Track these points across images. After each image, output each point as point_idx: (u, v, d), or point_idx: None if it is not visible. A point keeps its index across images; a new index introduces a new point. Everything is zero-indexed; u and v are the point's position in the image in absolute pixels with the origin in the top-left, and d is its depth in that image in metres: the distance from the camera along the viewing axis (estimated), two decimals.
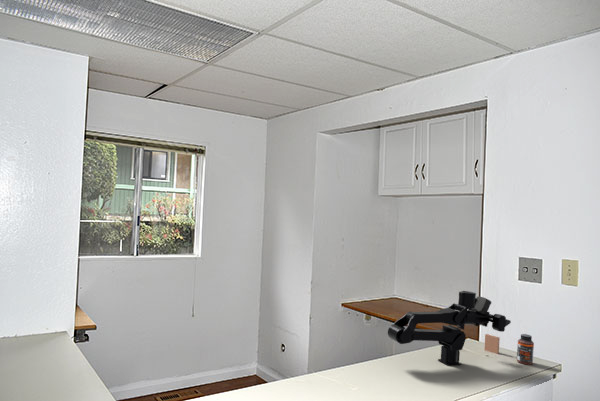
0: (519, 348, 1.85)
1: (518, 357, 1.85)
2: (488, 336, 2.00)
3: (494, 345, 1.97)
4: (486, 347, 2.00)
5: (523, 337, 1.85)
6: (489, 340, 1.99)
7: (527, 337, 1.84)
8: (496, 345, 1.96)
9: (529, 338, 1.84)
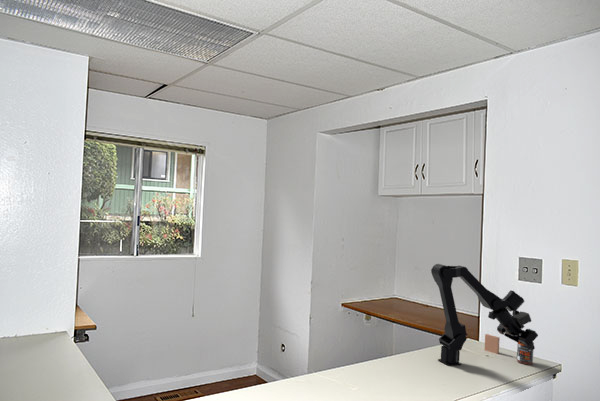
0: (519, 348, 1.85)
1: (518, 357, 1.85)
2: (488, 336, 2.00)
3: (494, 345, 1.97)
4: (486, 347, 2.00)
5: None
6: (489, 340, 1.99)
7: None
8: (496, 345, 1.96)
9: None
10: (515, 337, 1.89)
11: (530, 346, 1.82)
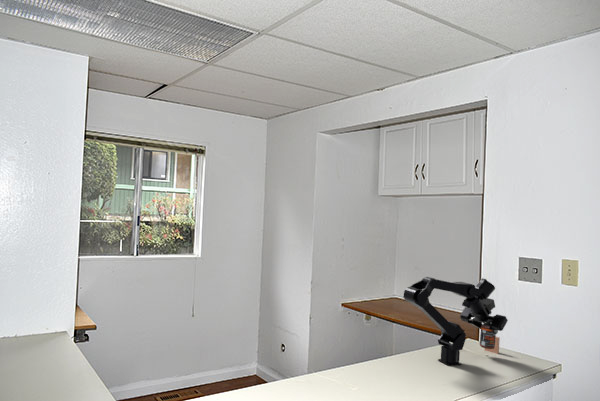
0: (484, 334, 1.89)
1: (483, 342, 1.89)
2: None
3: None
4: None
5: (488, 323, 1.89)
6: None
7: None
8: (496, 345, 1.96)
9: None
10: (478, 323, 1.92)
11: (496, 331, 1.87)
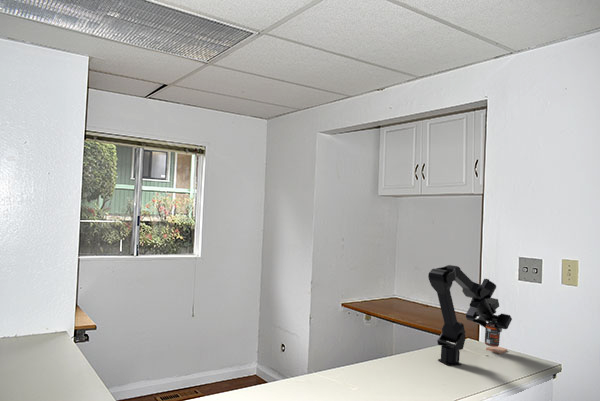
0: (489, 332, 1.97)
1: (488, 341, 1.97)
2: (497, 346, 2.04)
3: (499, 349, 2.00)
4: (489, 347, 2.02)
5: (492, 321, 1.97)
6: (496, 347, 2.03)
7: None
8: (501, 349, 1.99)
9: None
10: (483, 322, 2.00)
11: (500, 329, 1.95)
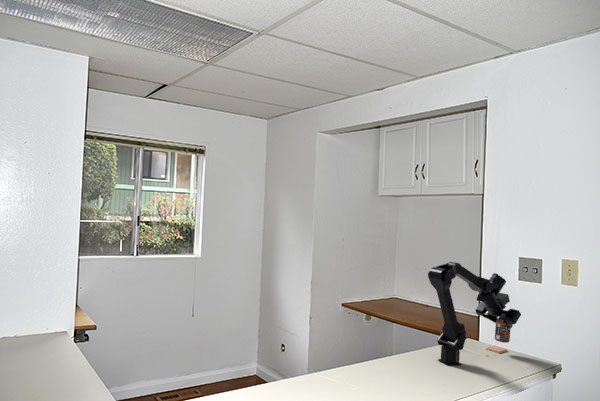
0: (499, 328, 1.95)
1: (498, 336, 1.95)
2: (497, 346, 2.04)
3: (499, 349, 2.00)
4: (489, 347, 2.02)
5: (502, 317, 1.95)
6: (496, 347, 2.03)
7: None
8: (501, 349, 1.99)
9: None
10: (493, 317, 1.98)
11: (510, 325, 1.93)
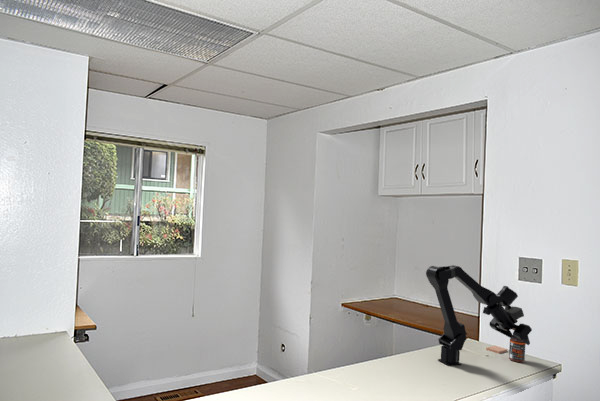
0: (512, 346, 1.87)
1: (510, 355, 1.87)
2: (497, 346, 2.04)
3: (499, 349, 2.00)
4: (489, 347, 2.02)
5: None
6: (496, 347, 2.03)
7: None
8: (501, 350, 1.99)
9: None
10: (505, 331, 1.92)
11: (526, 341, 1.83)
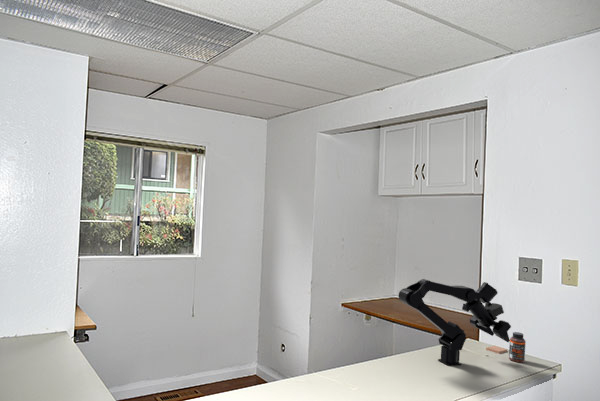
0: (511, 346, 1.87)
1: (510, 355, 1.87)
2: (496, 346, 2.04)
3: (499, 349, 2.00)
4: (489, 347, 2.02)
5: (515, 335, 1.87)
6: (496, 347, 2.03)
7: (519, 335, 1.86)
8: (501, 350, 1.99)
9: (521, 336, 1.86)
10: (485, 328, 1.90)
11: (505, 339, 1.80)
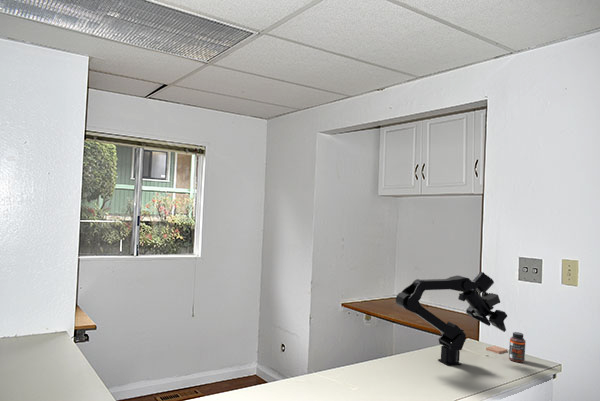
0: (511, 346, 1.87)
1: (510, 355, 1.87)
2: (496, 346, 2.04)
3: (499, 349, 2.00)
4: (489, 347, 2.02)
5: (515, 335, 1.87)
6: (496, 347, 2.03)
7: (519, 335, 1.86)
8: (501, 350, 1.99)
9: (521, 336, 1.86)
10: (482, 318, 1.89)
11: (502, 328, 1.80)
